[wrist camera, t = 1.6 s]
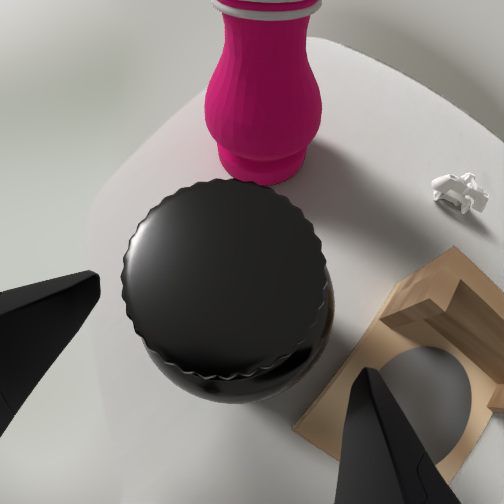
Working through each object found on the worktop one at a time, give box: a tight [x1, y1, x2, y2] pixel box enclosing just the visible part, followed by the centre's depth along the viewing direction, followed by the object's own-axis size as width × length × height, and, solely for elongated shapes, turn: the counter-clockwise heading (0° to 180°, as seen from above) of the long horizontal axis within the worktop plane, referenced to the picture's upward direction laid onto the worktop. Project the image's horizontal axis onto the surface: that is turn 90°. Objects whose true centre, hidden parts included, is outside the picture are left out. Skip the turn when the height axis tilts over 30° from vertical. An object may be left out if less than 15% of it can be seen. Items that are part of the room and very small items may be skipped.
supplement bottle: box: [120, 178, 335, 404], centre depth 12 cm, size 7×7×12 cm
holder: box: [292, 246, 504, 484], centre depth 13 cm, size 11×12×7 cm
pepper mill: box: [205, 0, 322, 185], centre depth 13 cm, size 7×7×20 cm
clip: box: [432, 173, 489, 214], centre depth 19 cm, size 5×2×4 cm, turn 69°
